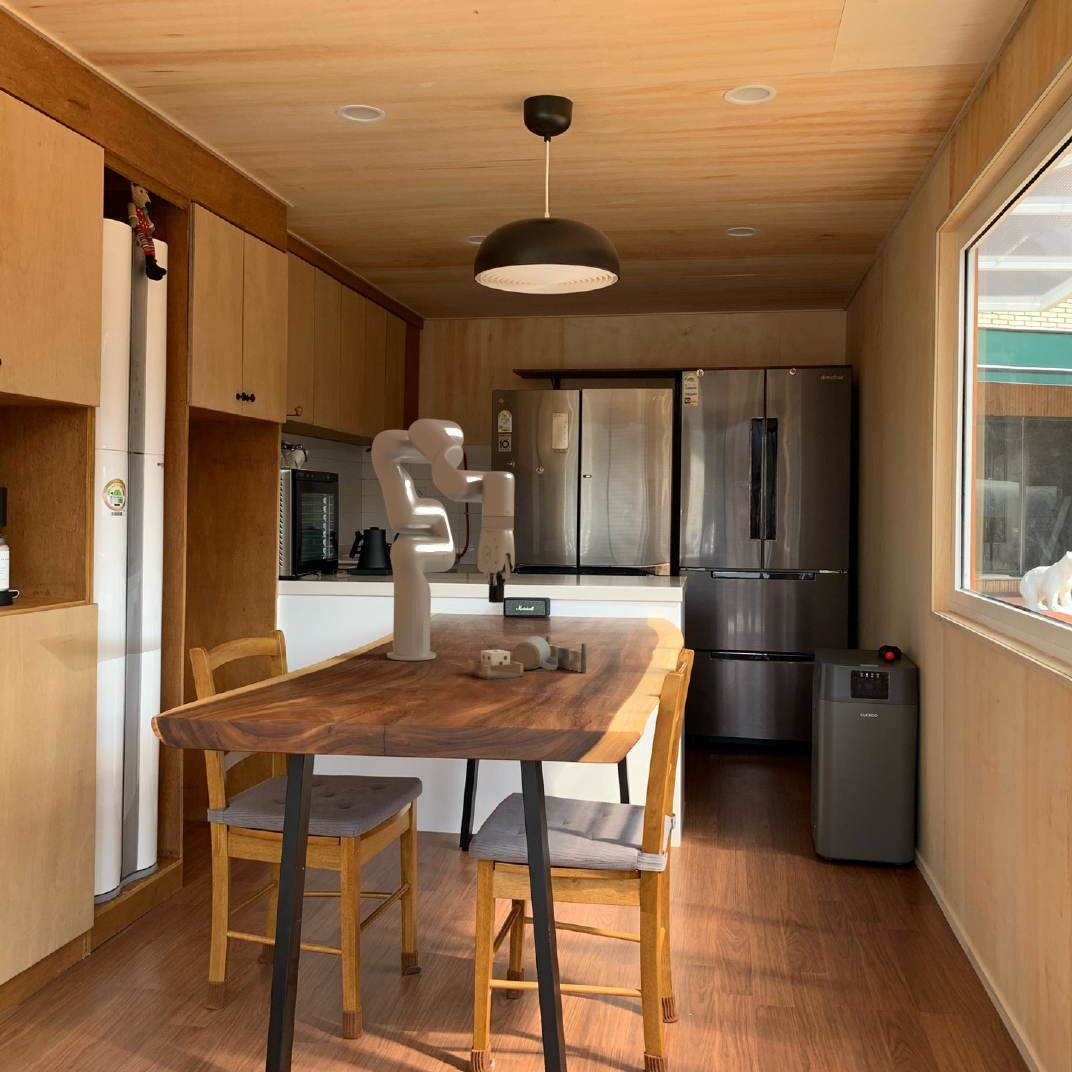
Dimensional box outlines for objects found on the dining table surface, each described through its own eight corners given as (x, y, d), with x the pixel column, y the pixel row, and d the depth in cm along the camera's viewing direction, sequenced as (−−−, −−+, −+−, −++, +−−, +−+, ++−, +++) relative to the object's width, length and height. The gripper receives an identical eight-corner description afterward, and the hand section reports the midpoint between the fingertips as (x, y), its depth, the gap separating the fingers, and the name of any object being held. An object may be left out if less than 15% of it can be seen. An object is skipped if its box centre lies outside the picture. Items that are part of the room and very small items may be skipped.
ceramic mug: (510, 669, 253) (512, 638, 253) (521, 665, 261) (522, 634, 261) (552, 673, 250) (553, 641, 250) (562, 668, 258) (563, 637, 258)
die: (480, 671, 245) (480, 650, 245) (499, 670, 248) (499, 649, 248) (491, 674, 241) (491, 652, 241) (510, 673, 244) (510, 651, 244)
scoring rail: (544, 664, 264) (545, 636, 264) (548, 663, 264) (549, 636, 264) (582, 673, 249) (583, 644, 249) (587, 673, 250) (587, 643, 250)
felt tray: (467, 673, 246) (467, 660, 246) (502, 670, 251) (502, 658, 251) (487, 679, 238) (487, 666, 238) (523, 676, 243) (523, 663, 243)
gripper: (468, 523, 248) (467, 600, 249) (499, 524, 236) (498, 605, 236) (495, 523, 252) (494, 599, 253) (528, 525, 240) (526, 604, 240)
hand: (496, 602), depth 244 cm, fingers closed
